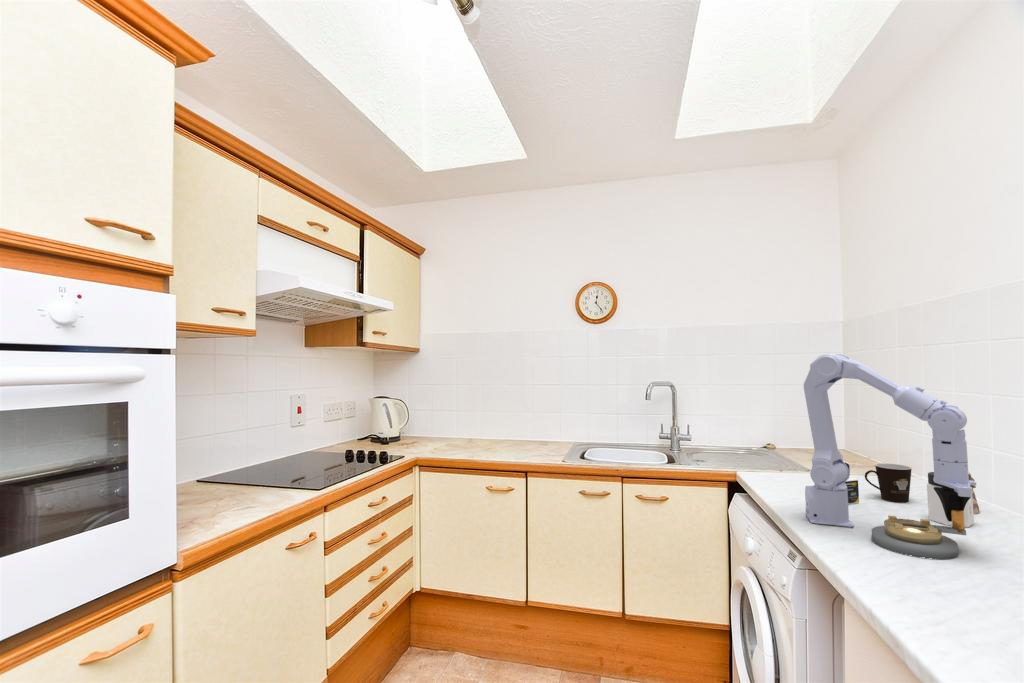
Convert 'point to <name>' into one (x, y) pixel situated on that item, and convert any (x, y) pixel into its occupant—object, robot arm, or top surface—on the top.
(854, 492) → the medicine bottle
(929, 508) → the jar
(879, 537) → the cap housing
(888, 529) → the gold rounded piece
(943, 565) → the top surface
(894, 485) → the coffee mug
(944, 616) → the top surface
